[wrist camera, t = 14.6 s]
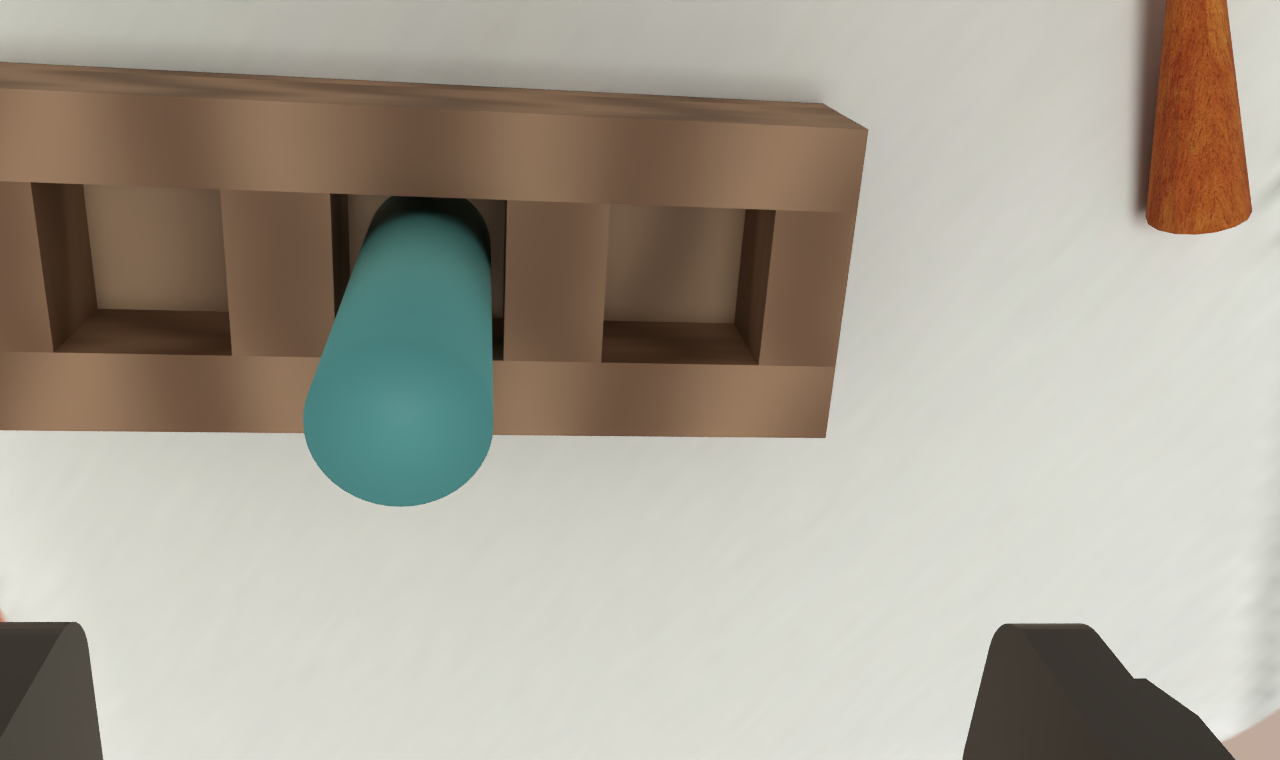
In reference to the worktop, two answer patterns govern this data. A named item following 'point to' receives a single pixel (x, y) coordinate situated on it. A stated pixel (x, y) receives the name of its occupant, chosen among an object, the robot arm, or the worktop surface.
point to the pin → (409, 358)
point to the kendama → (1197, 126)
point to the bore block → (420, 167)
